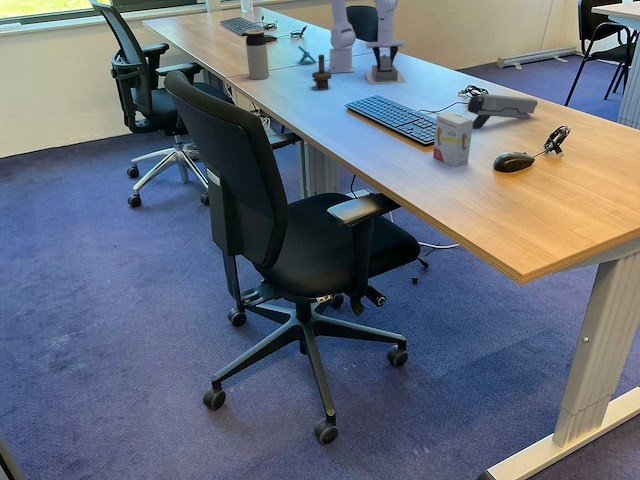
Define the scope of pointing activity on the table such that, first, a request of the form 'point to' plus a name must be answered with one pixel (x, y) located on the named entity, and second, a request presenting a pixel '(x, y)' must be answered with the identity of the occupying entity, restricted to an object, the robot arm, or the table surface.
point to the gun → (499, 107)
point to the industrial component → (321, 75)
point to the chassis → (384, 76)
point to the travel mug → (257, 54)
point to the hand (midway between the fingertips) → (384, 66)
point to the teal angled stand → (305, 55)
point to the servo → (385, 63)
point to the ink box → (452, 138)
